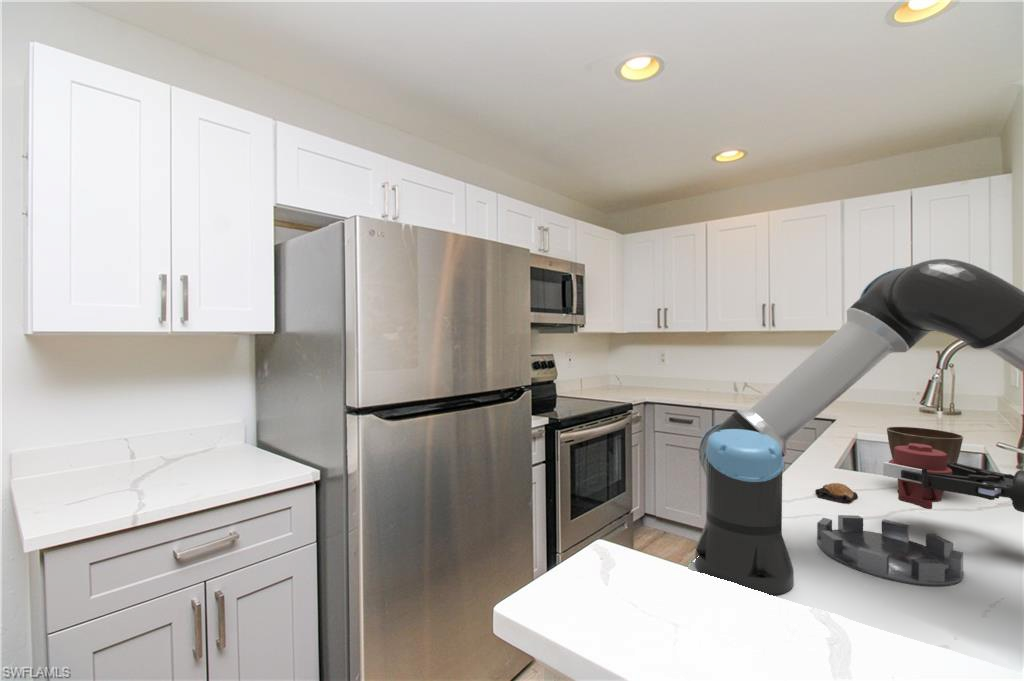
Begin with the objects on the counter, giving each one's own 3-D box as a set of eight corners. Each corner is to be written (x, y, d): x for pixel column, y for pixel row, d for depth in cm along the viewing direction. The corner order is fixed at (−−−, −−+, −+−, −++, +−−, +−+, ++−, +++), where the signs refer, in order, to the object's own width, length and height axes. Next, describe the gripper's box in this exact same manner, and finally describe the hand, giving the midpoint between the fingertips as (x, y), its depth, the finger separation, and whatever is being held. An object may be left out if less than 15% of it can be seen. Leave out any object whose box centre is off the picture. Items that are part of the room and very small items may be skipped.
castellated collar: (801, 553, 87) (802, 534, 87) (834, 523, 101) (834, 507, 101) (956, 601, 71) (956, 577, 71) (969, 558, 85) (969, 538, 85)
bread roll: (822, 490, 126) (822, 476, 126) (860, 497, 120) (860, 483, 120) (811, 499, 118) (811, 484, 118) (851, 507, 112) (851, 492, 112)
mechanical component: (930, 497, 102) (964, 514, 92) (878, 493, 104) (906, 510, 94) (931, 441, 102) (965, 452, 92) (879, 438, 104) (907, 449, 94)
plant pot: (909, 481, 131) (910, 425, 131) (976, 499, 117) (977, 436, 117) (872, 487, 126) (873, 428, 126) (937, 506, 112) (938, 439, 112)
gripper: (1030, 530, 77) (871, 490, 96) (1062, 505, 89) (914, 475, 108) (1031, 484, 77) (871, 454, 96) (1063, 466, 89) (915, 442, 107)
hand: (894, 465), depth 102 cm, fingers closed on mechanical component, 10 cm apart
